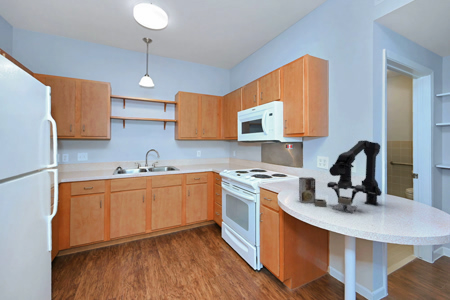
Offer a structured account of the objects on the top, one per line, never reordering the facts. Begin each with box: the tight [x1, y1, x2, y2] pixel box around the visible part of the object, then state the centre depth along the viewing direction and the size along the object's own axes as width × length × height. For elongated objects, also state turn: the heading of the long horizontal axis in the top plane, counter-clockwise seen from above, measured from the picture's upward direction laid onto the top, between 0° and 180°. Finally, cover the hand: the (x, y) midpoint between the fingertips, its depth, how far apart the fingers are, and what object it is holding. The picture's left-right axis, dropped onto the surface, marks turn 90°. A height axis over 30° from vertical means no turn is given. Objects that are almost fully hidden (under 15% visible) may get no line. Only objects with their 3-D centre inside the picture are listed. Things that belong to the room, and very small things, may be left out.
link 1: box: [313, 198, 328, 208], centre depth 122 cm, size 6×6×3 cm
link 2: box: [337, 195, 354, 205], centre depth 116 cm, size 6×6×3 cm
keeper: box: [332, 198, 358, 214], centre depth 116 cm, size 14×10×6 cm
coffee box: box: [298, 176, 316, 204], centre depth 130 cm, size 9×6×16 cm
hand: (345, 200), depth 116 cm, fingers closed on link 2, 6 cm apart
